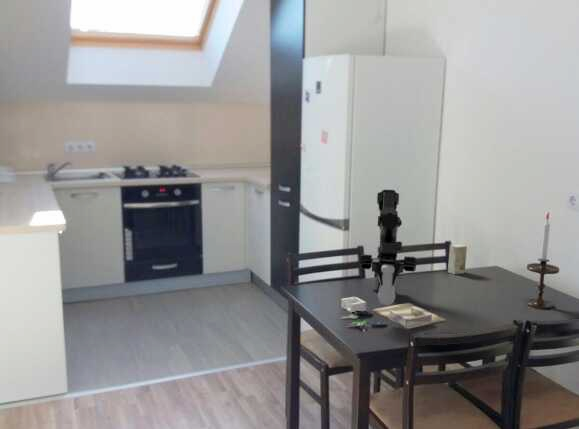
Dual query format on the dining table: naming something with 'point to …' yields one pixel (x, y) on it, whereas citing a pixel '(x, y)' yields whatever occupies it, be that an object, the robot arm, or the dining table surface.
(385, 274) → the salt shaker
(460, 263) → the skincare box
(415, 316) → the board
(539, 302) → the candlestick
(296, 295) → the dining table surface
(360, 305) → the end cap
